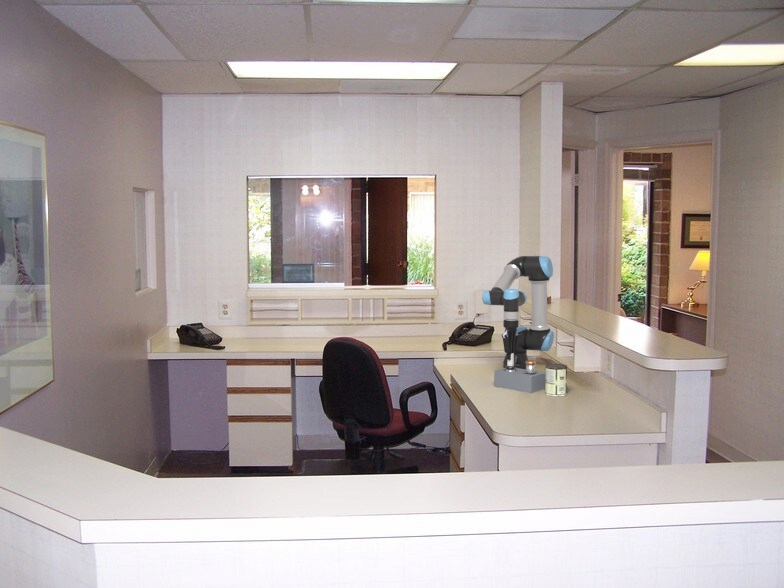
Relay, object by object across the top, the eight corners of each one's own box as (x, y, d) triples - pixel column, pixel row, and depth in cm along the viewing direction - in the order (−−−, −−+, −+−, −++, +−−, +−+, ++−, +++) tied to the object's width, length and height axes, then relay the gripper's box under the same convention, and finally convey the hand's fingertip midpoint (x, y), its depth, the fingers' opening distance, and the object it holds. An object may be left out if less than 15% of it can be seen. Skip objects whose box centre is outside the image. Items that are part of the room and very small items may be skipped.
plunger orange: (529, 376, 358) (529, 360, 357) (537, 378, 354) (538, 361, 354) (523, 378, 354) (523, 361, 353) (532, 379, 351) (532, 362, 350)
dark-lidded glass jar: (509, 381, 367) (509, 364, 366) (517, 382, 363) (517, 366, 362) (503, 382, 363) (503, 366, 362) (511, 384, 359) (511, 367, 358)
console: (510, 382, 371) (510, 367, 371) (546, 388, 356) (546, 372, 356) (494, 386, 361) (494, 370, 361) (531, 393, 346) (531, 376, 346)
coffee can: (551, 390, 351) (552, 362, 350) (570, 394, 344) (571, 365, 343) (540, 394, 343) (541, 365, 342) (559, 397, 336) (560, 368, 335)
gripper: (512, 317, 367) (511, 363, 369) (497, 320, 358) (496, 366, 360) (524, 319, 362) (523, 365, 364) (509, 321, 353) (509, 368, 355)
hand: (510, 365), depth 362 cm, fingers closed
